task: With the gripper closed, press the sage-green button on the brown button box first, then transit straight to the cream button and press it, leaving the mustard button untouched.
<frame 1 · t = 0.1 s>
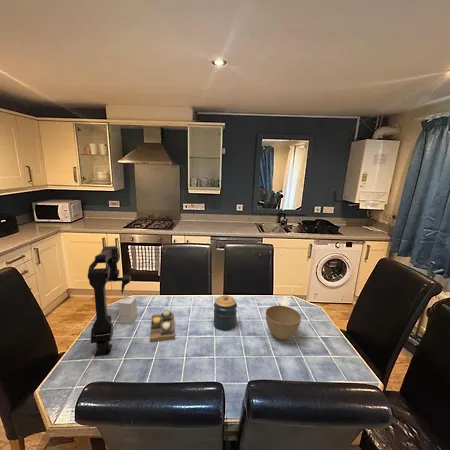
hand: (113, 294, 142), 15 cm above the table, fingers open, 9 cm apart
cream button: (166, 326, 130), point 5 cm above the table, slide at 0.0 cm
tan bowl: (281, 335, 133), on the table
supplement box: (128, 320, 143), on the table
brown button box: (162, 328, 136), on the table
mustard button: (156, 320, 135), point 5 cm above the table, slide at 0.0 cm
canister: (224, 324, 141), on the table
sage button: (166, 313, 141), point 5 cm above the table, slide at 0.0 cm
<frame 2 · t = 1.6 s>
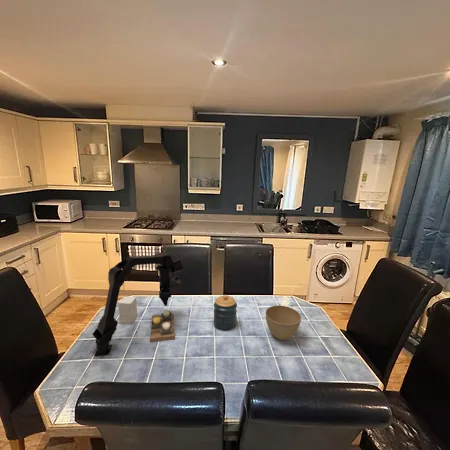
hand: (165, 301, 140), 12 cm above the table, fingers open, 8 cm apart
nothing on the table moved.
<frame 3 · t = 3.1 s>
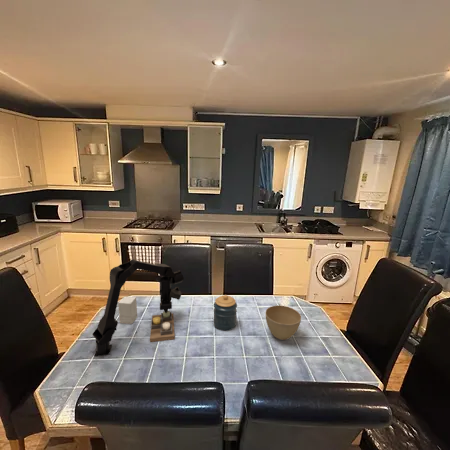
hand: (166, 312, 141), 6 cm above the table, fingers closed, pressing on sage button
sage button: (166, 314, 142), point 4 cm above the table, slide at 0.5 cm, touching gripper
everything else where it was.
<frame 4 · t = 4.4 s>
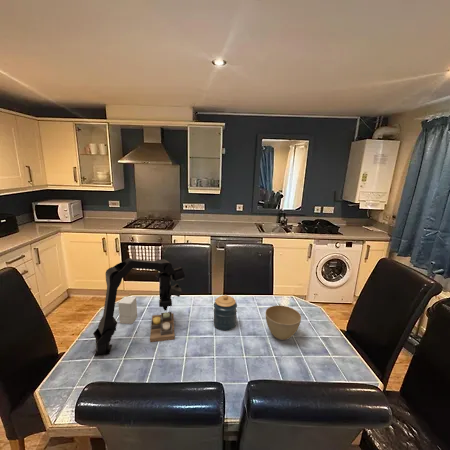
hand: (165, 310, 136), 10 cm above the table, fingers closed
sage button: (166, 316, 142), point 3 cm above the table, slide at 1.5 cm
everything else where it was.
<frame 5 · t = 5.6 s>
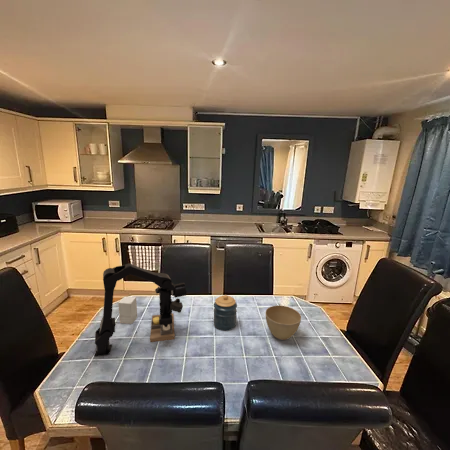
hand: (166, 326, 130), 5 cm above the table, fingers closed, pressing on cream button
cream button: (166, 328, 130), point 4 cm above the table, slide at 1.3 cm, touching gripper
everything else where it was.
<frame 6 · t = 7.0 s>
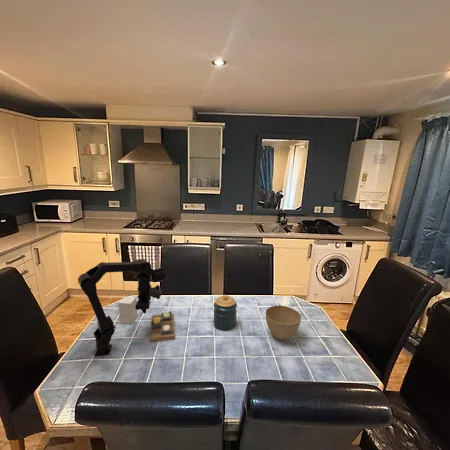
hand: (144, 313, 128), 12 cm above the table, fingers closed
cream button: (166, 329, 130), point 3 cm above the table, slide at 1.5 cm
everything else where it was.
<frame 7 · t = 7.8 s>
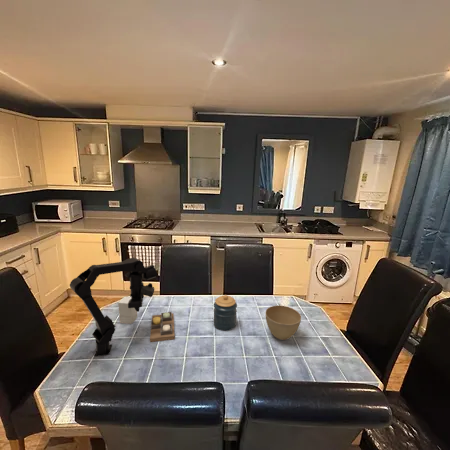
hand: (137, 311, 129), 13 cm above the table, fingers closed
nothing on the table moved.
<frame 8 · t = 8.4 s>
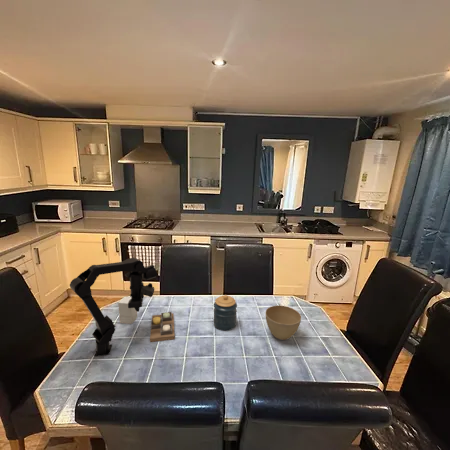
hand: (137, 311, 129), 13 cm above the table, fingers closed
nothing on the table moved.
at the end: sage button slide at 1.5 cm; cream button slide at 1.5 cm; mustard button slide at 0.0 cm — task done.
